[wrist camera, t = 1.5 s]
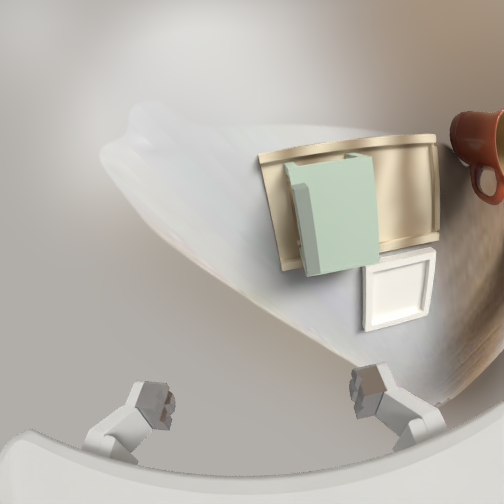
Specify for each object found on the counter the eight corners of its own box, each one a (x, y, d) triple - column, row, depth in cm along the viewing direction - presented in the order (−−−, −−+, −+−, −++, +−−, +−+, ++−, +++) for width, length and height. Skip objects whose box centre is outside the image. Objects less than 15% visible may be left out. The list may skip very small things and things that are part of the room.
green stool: (353, 152, 27) (382, 159, 20) (362, 242, 32) (387, 273, 24) (283, 163, 28) (290, 172, 21) (300, 254, 33) (309, 289, 25)
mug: (446, 96, 23) (498, 92, 14) (486, 123, 24) (535, 129, 14) (431, 178, 28) (481, 198, 19) (471, 197, 28) (518, 220, 19)
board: (429, 133, 26) (435, 134, 25) (433, 236, 31) (438, 240, 30) (258, 153, 29) (258, 154, 27) (281, 266, 34) (282, 271, 33)
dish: (430, 246, 32) (436, 251, 30) (423, 309, 36) (427, 314, 35) (362, 261, 33) (365, 267, 32) (362, 325, 38) (365, 332, 36)
